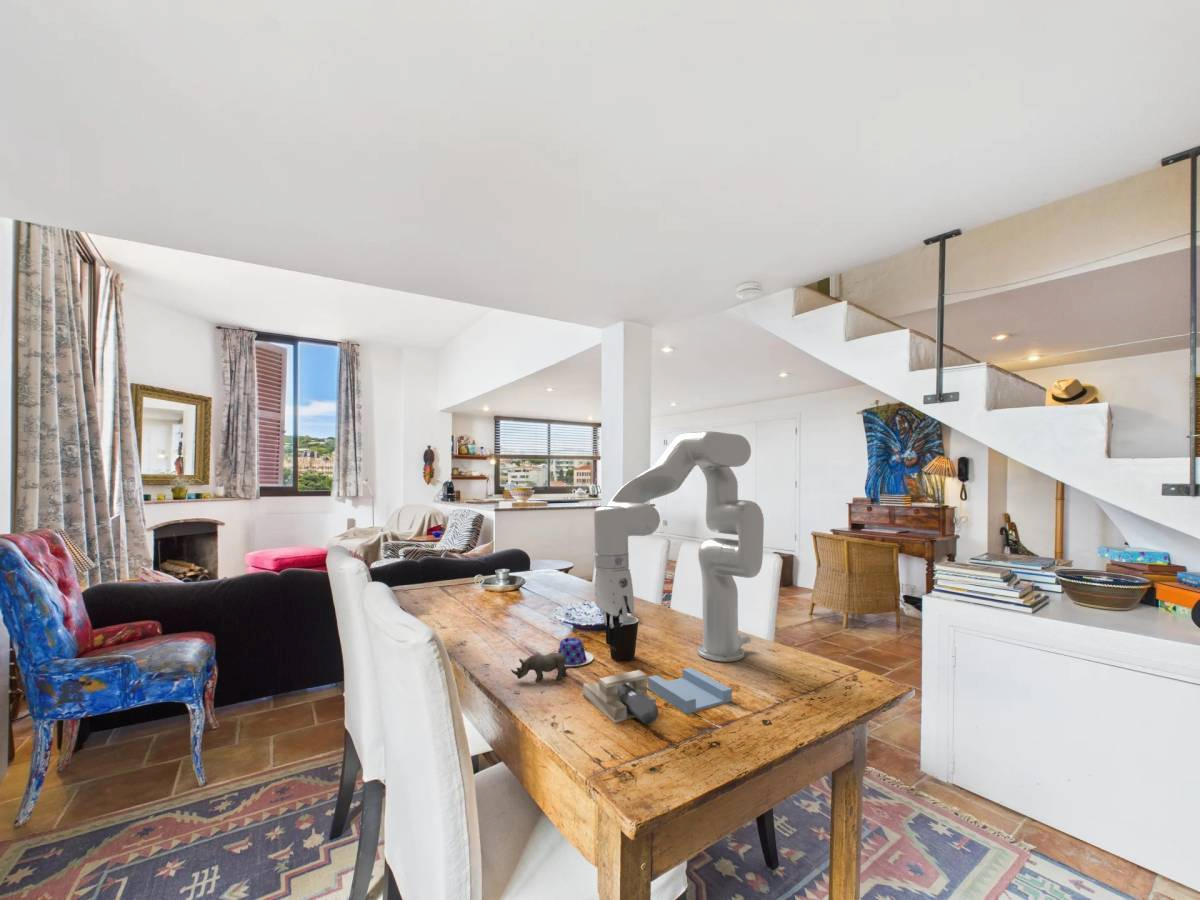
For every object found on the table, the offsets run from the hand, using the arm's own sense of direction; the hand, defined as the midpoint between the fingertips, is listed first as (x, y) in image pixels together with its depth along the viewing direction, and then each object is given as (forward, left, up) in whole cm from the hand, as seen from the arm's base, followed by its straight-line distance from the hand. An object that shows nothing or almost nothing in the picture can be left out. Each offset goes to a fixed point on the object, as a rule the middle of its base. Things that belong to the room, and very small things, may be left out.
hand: (613, 643), depth 111 cm
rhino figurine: (+11, -17, -12) cm, 23 cm away
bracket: (+1, +3, -12) cm, 12 cm away
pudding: (-1, -25, -12) cm, 28 cm away
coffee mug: (-15, -21, -12) cm, 28 cm away
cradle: (-15, +7, -12) cm, 20 cm away
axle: (0, +8, -9) cm, 12 cm away
